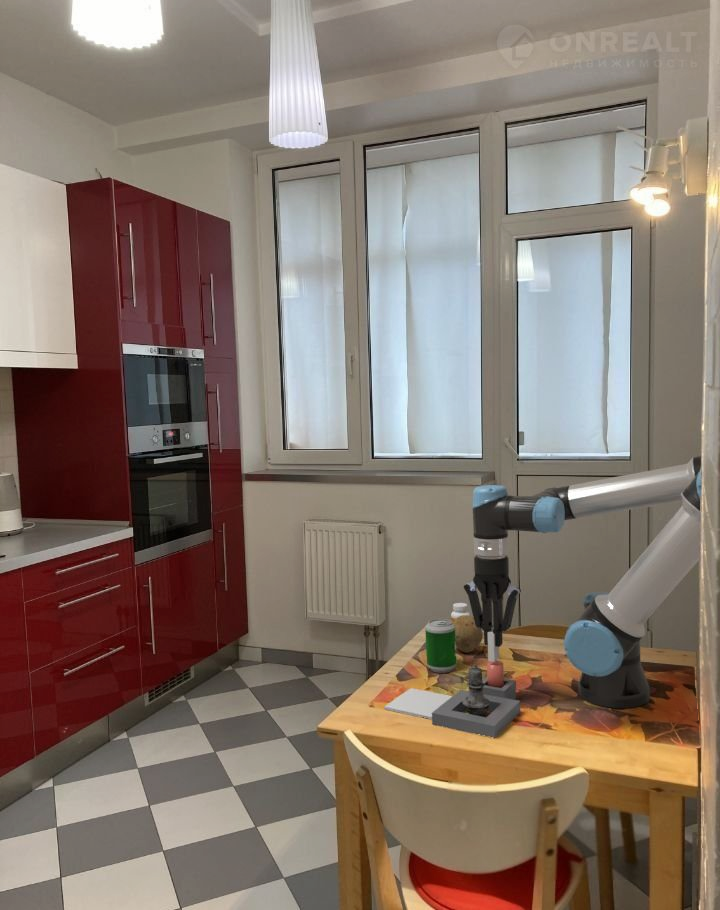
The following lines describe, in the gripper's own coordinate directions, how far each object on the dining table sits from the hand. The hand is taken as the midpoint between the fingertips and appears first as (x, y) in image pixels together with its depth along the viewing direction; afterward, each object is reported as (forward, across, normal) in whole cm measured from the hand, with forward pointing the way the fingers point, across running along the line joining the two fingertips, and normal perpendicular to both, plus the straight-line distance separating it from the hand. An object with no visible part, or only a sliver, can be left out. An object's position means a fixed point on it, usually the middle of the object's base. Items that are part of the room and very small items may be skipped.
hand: (493, 659), depth 166 cm
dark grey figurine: (+10, 0, -10) cm, 14 cm away
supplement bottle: (+10, -26, +36) cm, 46 cm away
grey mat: (+10, -14, -10) cm, 19 cm away
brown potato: (+10, -20, +26) cm, 34 cm away
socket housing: (+9, 0, -7) cm, 12 cm away
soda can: (+10, -20, +12) cm, 25 cm away
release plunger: (+7, 0, 0) cm, 7 cm away
